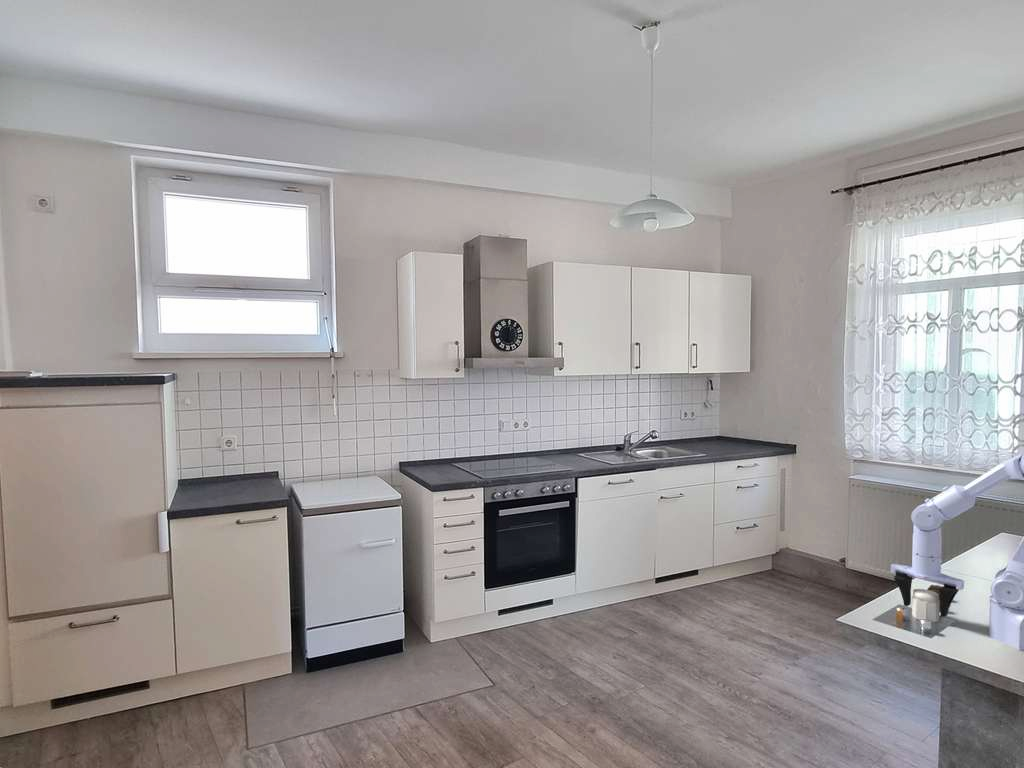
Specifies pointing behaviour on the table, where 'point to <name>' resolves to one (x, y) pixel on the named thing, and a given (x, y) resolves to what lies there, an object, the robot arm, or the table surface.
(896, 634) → the table surface
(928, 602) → the knob
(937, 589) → the bolt
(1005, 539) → the table surface
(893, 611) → the plate
